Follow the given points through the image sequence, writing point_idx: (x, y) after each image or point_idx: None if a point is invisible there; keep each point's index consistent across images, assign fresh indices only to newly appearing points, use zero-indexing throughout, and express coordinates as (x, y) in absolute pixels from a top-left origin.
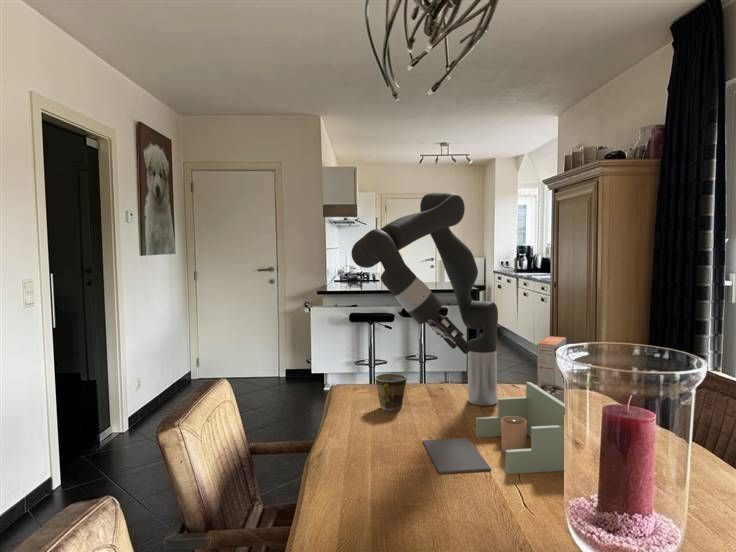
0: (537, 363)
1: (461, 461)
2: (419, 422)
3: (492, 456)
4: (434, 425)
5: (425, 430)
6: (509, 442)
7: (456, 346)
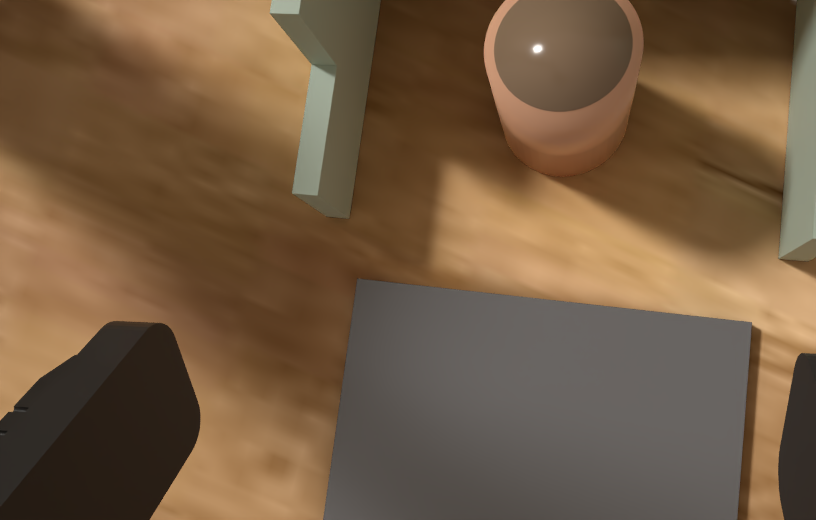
0: None
1: (636, 437)
2: None
3: (589, 243)
4: None
5: None
6: (609, 137)
7: (184, 371)
